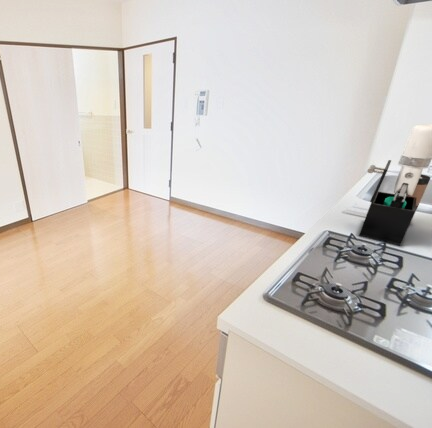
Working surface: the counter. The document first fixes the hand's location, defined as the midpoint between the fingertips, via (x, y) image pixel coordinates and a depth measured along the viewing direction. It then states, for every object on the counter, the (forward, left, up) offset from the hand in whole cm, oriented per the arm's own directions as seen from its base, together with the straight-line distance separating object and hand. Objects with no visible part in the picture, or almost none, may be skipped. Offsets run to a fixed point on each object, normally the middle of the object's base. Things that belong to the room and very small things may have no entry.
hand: (394, 208), depth 105 cm
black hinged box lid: (+6, -2, +10) cm, 11 cm away
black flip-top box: (+1, 0, -11) cm, 11 cm away
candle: (0, -2, -8) cm, 8 cm away
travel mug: (-8, -14, -11) cm, 20 cm away
